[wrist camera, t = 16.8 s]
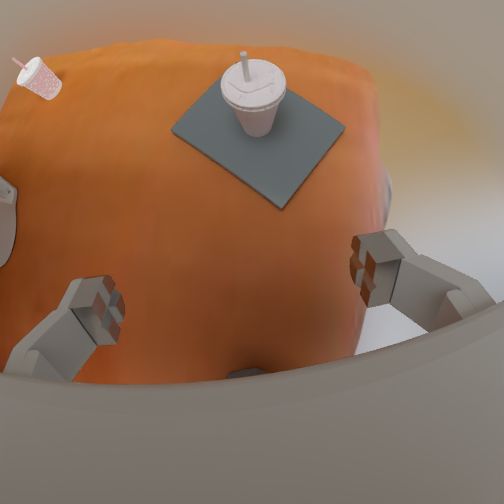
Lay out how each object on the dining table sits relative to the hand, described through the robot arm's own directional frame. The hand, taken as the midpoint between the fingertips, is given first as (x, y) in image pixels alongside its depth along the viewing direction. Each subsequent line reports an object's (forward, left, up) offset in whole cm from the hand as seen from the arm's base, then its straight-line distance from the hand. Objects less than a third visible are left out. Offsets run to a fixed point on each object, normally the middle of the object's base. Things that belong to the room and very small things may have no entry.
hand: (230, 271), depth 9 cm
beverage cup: (-52, +2, -25) cm, 58 cm away
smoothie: (-11, +14, -24) cm, 29 cm away
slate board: (-11, +14, -25) cm, 30 cm away
